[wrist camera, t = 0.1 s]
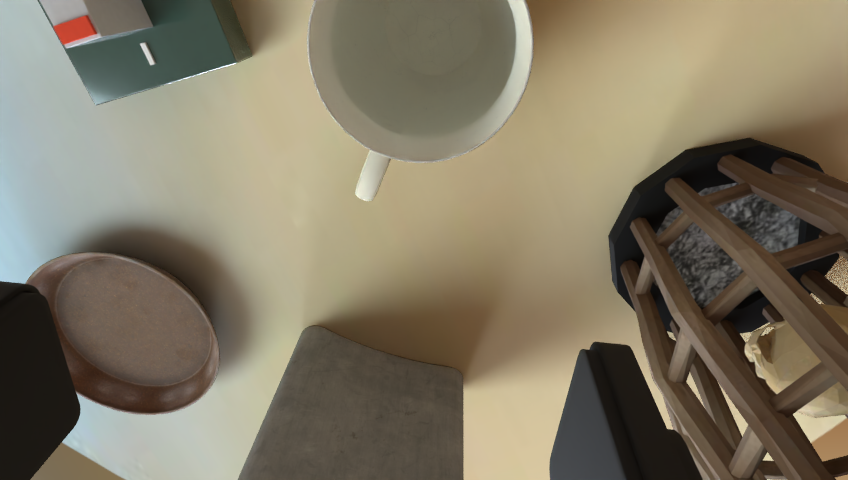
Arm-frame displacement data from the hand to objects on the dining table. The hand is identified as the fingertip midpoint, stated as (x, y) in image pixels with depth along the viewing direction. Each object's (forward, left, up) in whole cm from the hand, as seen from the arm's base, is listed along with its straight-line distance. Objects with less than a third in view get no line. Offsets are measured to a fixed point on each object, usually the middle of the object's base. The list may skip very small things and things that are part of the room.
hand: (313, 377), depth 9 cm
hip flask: (+27, -2, -31) cm, 41 cm away
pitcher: (-2, 0, -31) cm, 31 cm away
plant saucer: (+25, -25, -31) cm, 47 cm away
